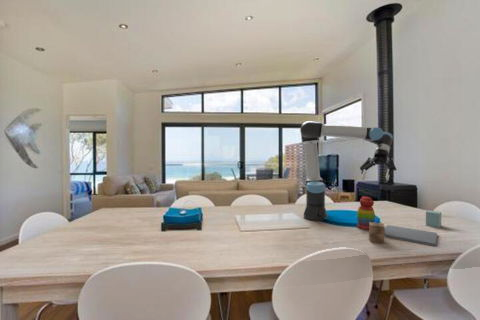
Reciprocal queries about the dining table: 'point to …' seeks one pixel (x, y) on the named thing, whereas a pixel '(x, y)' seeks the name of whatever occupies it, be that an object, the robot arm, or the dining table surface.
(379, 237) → the walnut block
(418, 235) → the slate board
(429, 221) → the grey-teal block
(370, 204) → the stacking bear
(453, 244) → the dining table surface
